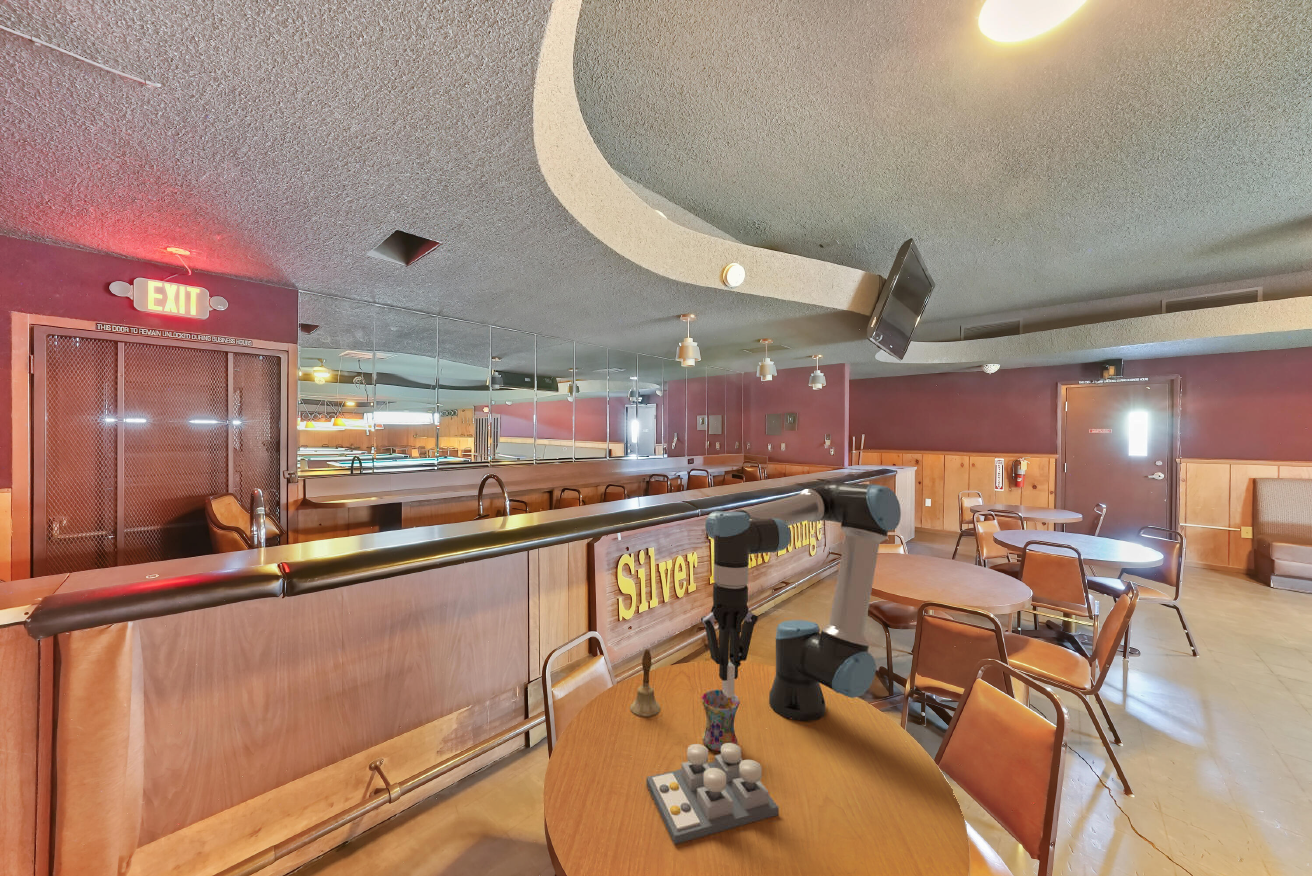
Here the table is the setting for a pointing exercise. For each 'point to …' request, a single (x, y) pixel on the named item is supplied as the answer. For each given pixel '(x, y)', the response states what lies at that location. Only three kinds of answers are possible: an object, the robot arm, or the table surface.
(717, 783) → the button
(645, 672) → the hand bell
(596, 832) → the table surface
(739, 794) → the board
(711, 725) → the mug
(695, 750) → the button
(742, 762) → the button
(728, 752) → the button
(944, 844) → the table surface
